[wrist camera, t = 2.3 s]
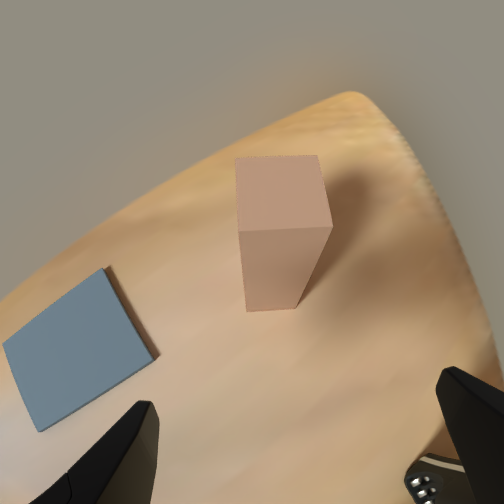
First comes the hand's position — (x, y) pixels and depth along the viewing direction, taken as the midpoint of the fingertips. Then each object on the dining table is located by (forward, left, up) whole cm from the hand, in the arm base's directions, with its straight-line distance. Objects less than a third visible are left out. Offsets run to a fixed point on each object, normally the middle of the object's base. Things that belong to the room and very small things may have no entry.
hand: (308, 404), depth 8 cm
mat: (+17, +2, -14) cm, 22 cm away
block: (+2, -8, -14) cm, 16 cm away
